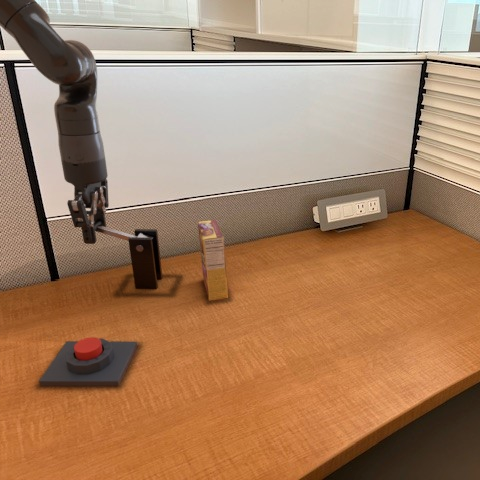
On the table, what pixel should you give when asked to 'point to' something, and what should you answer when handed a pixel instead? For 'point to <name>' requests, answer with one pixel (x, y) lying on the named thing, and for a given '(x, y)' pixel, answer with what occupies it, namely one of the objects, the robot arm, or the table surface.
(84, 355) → the button
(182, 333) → the table surface
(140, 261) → the bracket
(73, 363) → the control block
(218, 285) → the candy box
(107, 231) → the lever
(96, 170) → the robot arm
